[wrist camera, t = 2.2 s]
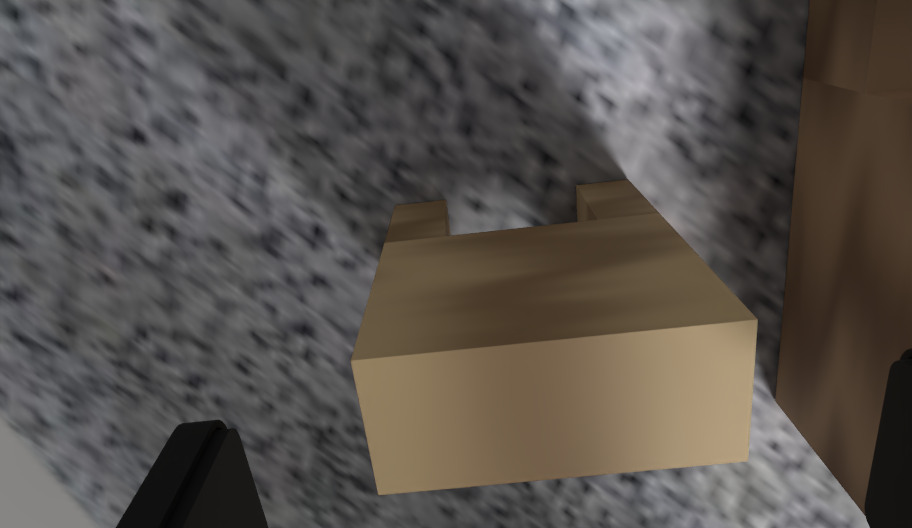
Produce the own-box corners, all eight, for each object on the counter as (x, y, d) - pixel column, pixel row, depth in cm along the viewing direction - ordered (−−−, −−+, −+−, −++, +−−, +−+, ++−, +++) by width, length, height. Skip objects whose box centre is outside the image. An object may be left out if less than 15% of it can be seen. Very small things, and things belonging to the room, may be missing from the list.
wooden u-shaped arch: (628, 179, 19) (757, 320, 11) (629, 271, 20) (748, 461, 12) (395, 205, 20) (350, 360, 11) (409, 294, 21) (378, 495, 12)
